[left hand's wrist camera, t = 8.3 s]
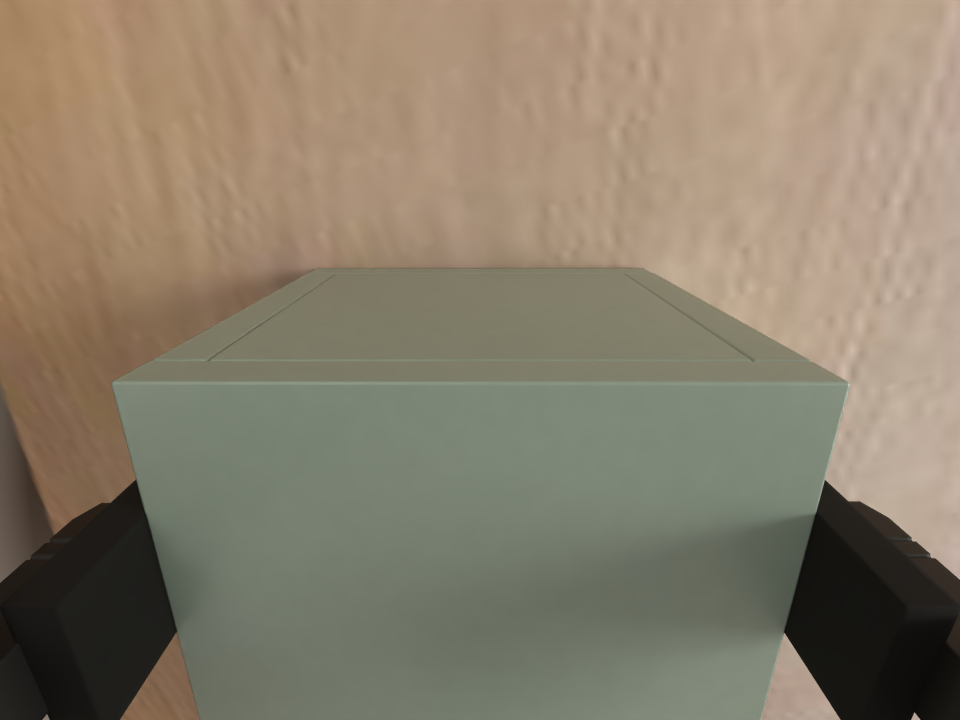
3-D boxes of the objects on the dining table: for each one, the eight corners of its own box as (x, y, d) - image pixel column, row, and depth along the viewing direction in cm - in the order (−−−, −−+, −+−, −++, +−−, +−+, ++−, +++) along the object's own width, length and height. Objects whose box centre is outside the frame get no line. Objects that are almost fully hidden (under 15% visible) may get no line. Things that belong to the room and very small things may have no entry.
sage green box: (605, 632, 23) (696, 965, 14) (355, 632, 23) (263, 965, 14) (645, 267, 18) (852, 382, 8) (315, 267, 18) (108, 381, 8)
